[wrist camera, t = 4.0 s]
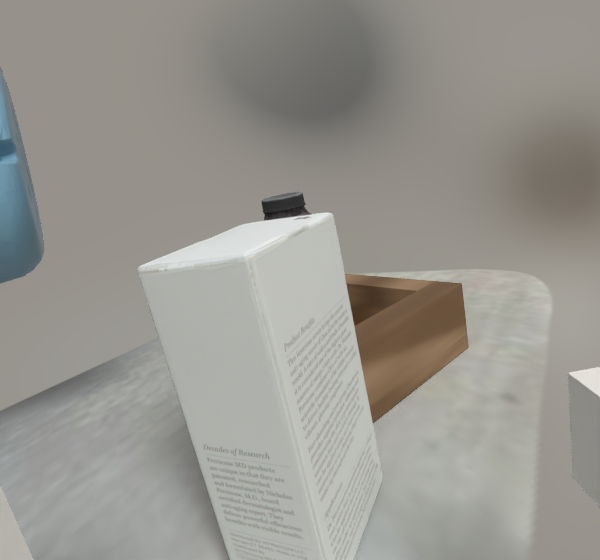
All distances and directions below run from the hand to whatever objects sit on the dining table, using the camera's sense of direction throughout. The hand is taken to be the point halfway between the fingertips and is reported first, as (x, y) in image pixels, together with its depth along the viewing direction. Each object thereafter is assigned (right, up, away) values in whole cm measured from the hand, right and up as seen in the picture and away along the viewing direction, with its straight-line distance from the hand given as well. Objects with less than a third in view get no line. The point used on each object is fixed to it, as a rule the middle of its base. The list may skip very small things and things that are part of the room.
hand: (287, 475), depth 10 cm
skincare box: (+1, -6, +7) cm, 9 cm away
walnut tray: (+3, -2, +20) cm, 20 cm away
